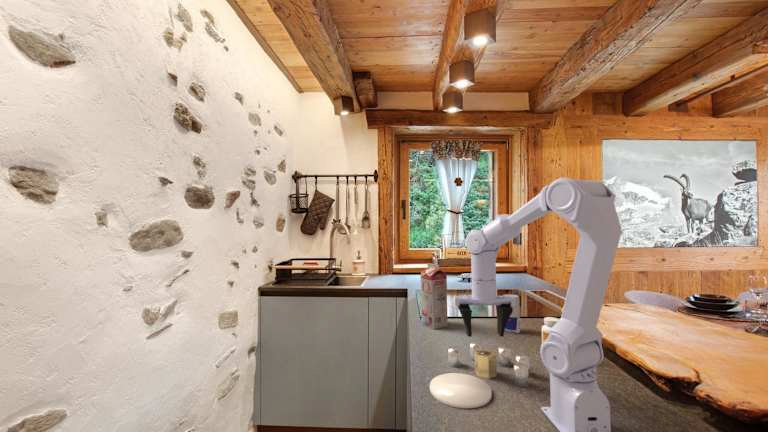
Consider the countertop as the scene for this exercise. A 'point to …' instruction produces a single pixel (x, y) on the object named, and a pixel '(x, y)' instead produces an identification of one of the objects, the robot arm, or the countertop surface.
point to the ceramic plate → (460, 390)
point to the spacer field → (504, 360)
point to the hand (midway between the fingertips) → (484, 335)
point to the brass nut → (485, 363)
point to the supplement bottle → (548, 326)
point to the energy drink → (514, 317)
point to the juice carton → (433, 297)
